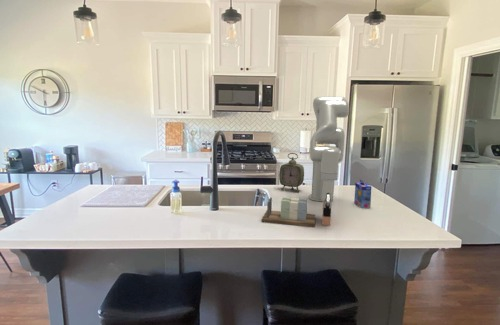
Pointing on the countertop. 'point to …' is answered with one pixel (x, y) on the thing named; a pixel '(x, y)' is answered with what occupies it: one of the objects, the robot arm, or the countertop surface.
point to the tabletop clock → (291, 174)
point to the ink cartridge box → (362, 194)
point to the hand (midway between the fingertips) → (326, 213)
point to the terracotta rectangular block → (326, 219)
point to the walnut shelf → (288, 221)
